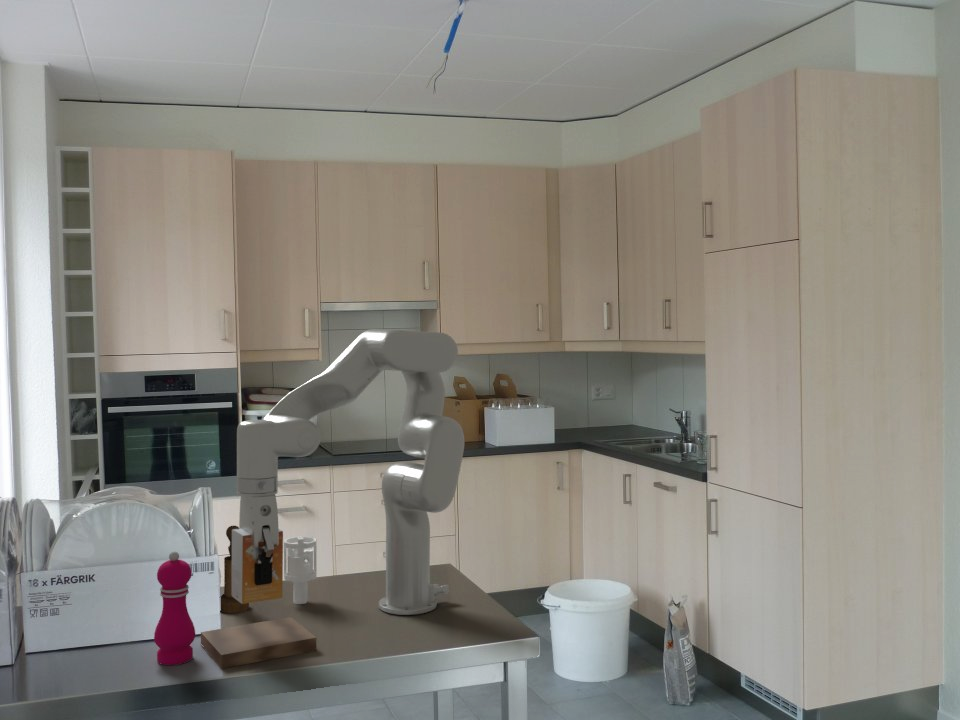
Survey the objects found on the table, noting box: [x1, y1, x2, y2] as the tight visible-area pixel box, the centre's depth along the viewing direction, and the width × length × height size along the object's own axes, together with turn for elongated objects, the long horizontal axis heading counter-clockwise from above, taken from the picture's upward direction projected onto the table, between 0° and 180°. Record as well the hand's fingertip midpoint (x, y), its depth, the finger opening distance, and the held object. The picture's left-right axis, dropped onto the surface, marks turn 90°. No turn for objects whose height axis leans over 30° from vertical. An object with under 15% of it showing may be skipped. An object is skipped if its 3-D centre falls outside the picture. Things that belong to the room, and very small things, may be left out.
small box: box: [232, 528, 284, 604], centre depth 176 cm, size 8×6×13 cm
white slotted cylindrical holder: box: [283, 535, 317, 605], centre depth 205 cm, size 7×7×15 cm
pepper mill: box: [153, 551, 196, 666], centre depth 170 cm, size 7×7×20 cm
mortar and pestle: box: [220, 525, 250, 614], centre depth 200 cm, size 7×6×18 cm
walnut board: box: [200, 616, 317, 669], centre depth 176 cm, size 18×14×2 cm
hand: (257, 578), depth 176 cm, fingers closed on small box, 6 cm apart
